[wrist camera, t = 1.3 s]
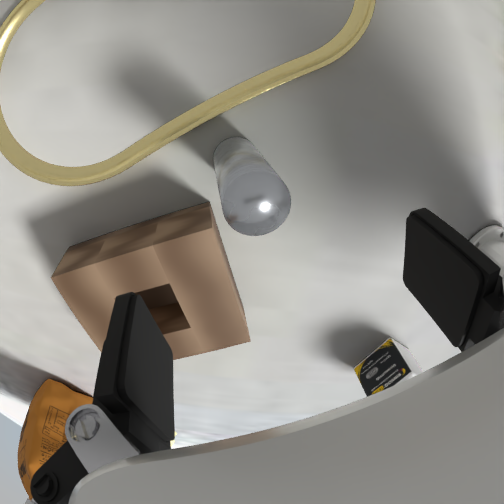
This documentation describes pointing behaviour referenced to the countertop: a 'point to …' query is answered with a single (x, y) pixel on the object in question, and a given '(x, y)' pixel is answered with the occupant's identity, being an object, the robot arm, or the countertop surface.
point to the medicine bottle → (386, 367)
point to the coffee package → (45, 427)
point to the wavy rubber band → (185, 122)
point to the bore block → (159, 281)
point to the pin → (249, 188)
